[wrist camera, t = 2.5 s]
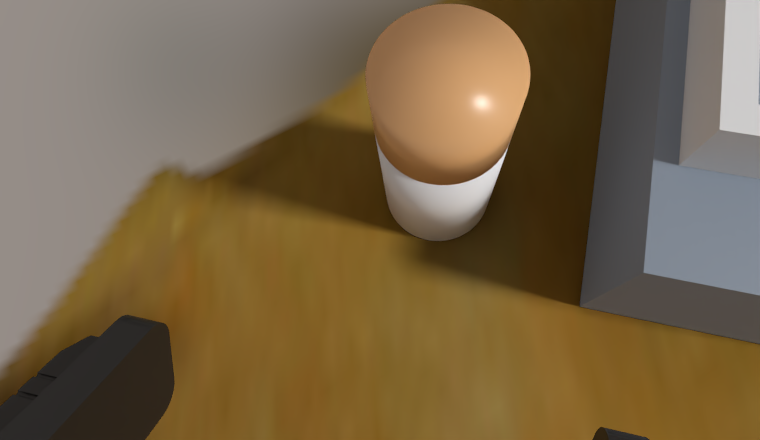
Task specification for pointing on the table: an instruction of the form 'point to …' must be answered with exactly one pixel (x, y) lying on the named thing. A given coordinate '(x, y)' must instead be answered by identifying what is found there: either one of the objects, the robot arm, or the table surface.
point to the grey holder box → (679, 169)
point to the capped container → (444, 114)
